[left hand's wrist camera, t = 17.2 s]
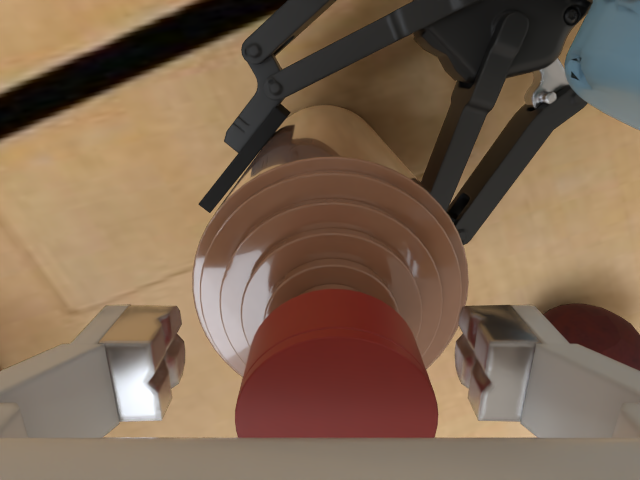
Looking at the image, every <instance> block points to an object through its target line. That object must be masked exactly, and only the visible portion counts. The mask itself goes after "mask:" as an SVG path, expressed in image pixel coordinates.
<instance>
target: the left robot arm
mask: <svg viewBox="0 0 640 480" xmlns="http://www.w3.org/2000/svg"><path fill="white" fill-rule="evenodd" d="M181 324H182V322H181V316H180V310H179V309H178V307H177V306H156V305H107V306H105V307H104V308H103V309H102V310H101V311H100V312H99V313H98V314H97V315H96V317H95V318H94V319H93V320H92V321H91V322H90V323H89V324H88V325H87V326H86V327H85V328H84V329H83V330H82V332H81V333H80V334H79V335H78V336H77V337H76V338H75V339H74V340H73V341H72V342H71V343H70V344H61V345H59V346H56V347H54V348H52V349H49V350H47V351H45V352H43V353H40V354H38V355H36V356H33V357H31V358H29V359H27V360H24V361H22V362H20V363H17V364H15V365H13V366H10V367H8V368H6V369H4V370H1V371H0V480H640V371H639V370H636V369H634V368H632V367H629V366H627V365H625V364H622V363H620V362H618V361H616V360H613V359H611V358H609V357H606V356H604V355H602V354H600V353H597V352H595V351H593V350H590V349H588V348H586V347H584V346H581V345H579V344H570V343H569V342H568V341H567V340H566V339H565V338H564V337H563V336H562V335H561V334H560V333H559V332H558V330H557V329H556V328H555V327H554V326H553V325H552V324H551V323H550V322H549V321H548V320H547V319H546V318H545V316H544V315H543V314H542V313H541V312H540V311H539V310H538V309H537V308H536V307H535V306H533V305H530V304H529V305H487V306H464V307H462V308H461V311H460V314H459V322H458V324H459V326H460V328H461V330H462V332H463V334H462V335H461V337H460V338H459V339H458V340H457V341H456V347H455V364H456V370H457V374H458V377H459V379H460V382H461V384H463V385H464V386H466V387H467V388H469V392H468V399H469V402H470V404H471V406H472V408H473V410H474V412H475V414H476V417H477V419H478V420H480V421H517V422H521V423H520V424H522V425H523V426H524V427H525V428H527V429H528V430H529V431H530V432H532V433H533V434H534V435H535V436H536V437H538V438H102V437H104V436H105V435H106V434H107V433H109V432H110V431H111V430H112V429H114V428H115V427H116V426H117V425H118V424H119V422H123V421H158V420H162V419H163V417H164V414H165V412H166V410H167V408H168V406H169V404H170V402H171V399H172V392H171V388H173V387H174V386H176V385H177V384H179V382H180V379H181V377H182V375H183V369H184V364H185V346H184V341H183V340H182V339H181V338H180V337H179V335H178V334H177V332H178V330H179V328H180V326H181Z"/></svg>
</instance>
